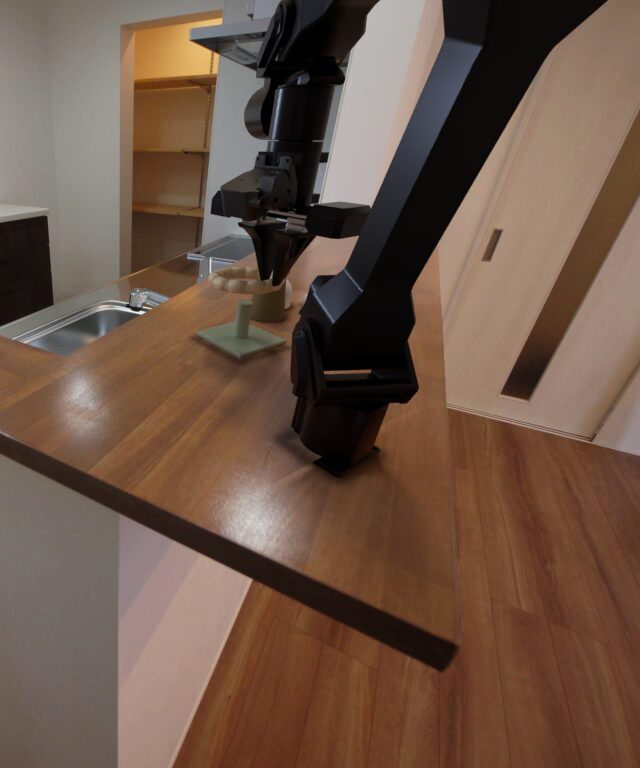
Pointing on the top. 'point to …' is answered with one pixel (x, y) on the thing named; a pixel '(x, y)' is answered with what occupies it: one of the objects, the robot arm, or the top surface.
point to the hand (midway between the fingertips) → (269, 283)
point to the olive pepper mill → (269, 305)
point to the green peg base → (241, 334)
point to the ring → (223, 282)
